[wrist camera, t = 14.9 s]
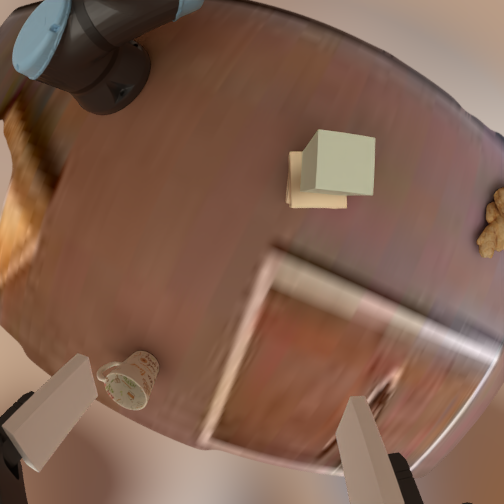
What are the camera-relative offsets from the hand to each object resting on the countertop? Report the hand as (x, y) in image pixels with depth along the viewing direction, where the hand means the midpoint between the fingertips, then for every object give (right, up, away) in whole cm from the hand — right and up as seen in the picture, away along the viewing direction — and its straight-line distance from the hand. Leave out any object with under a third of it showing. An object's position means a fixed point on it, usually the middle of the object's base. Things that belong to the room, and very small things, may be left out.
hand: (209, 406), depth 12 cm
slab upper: (+10, +17, +25) cm, 32 cm away
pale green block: (+10, +17, +21) cm, 29 cm away
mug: (-21, -15, +38) cm, 46 cm away
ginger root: (+51, +14, +28) cm, 60 cm away
